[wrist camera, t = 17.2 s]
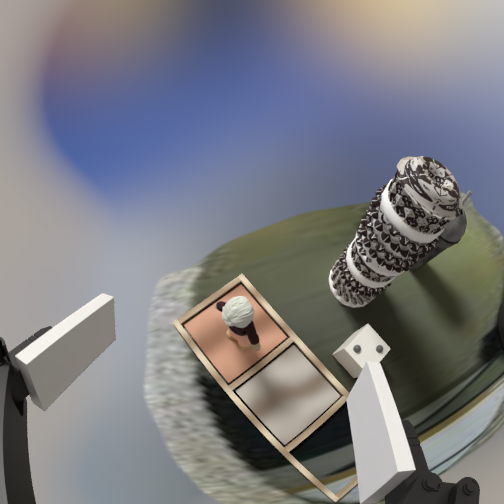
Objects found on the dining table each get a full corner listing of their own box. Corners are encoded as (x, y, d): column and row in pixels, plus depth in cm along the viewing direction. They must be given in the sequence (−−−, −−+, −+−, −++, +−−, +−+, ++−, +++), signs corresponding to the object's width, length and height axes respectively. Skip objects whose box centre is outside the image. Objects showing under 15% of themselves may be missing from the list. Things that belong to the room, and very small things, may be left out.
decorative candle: (314, 278, 43) (380, 159, 21) (351, 248, 46) (419, 134, 24) (353, 321, 40) (457, 232, 18) (387, 286, 43) (480, 190, 21)
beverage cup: (432, 268, 45) (497, 206, 28) (408, 282, 44) (479, 216, 26) (413, 237, 48) (469, 168, 31) (388, 248, 47) (447, 173, 29)
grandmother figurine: (269, 339, 38) (283, 313, 27) (253, 360, 36) (260, 344, 25) (225, 308, 40) (220, 270, 29) (208, 328, 38) (196, 298, 27)
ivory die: (374, 355, 37) (392, 348, 33) (353, 378, 36) (370, 374, 31) (354, 332, 39) (369, 322, 34) (331, 354, 37) (345, 347, 33)
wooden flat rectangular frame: (394, 442, 30) (396, 443, 30) (334, 501, 26) (335, 502, 25) (242, 275, 43) (242, 273, 42) (173, 323, 39) (172, 322, 38)
